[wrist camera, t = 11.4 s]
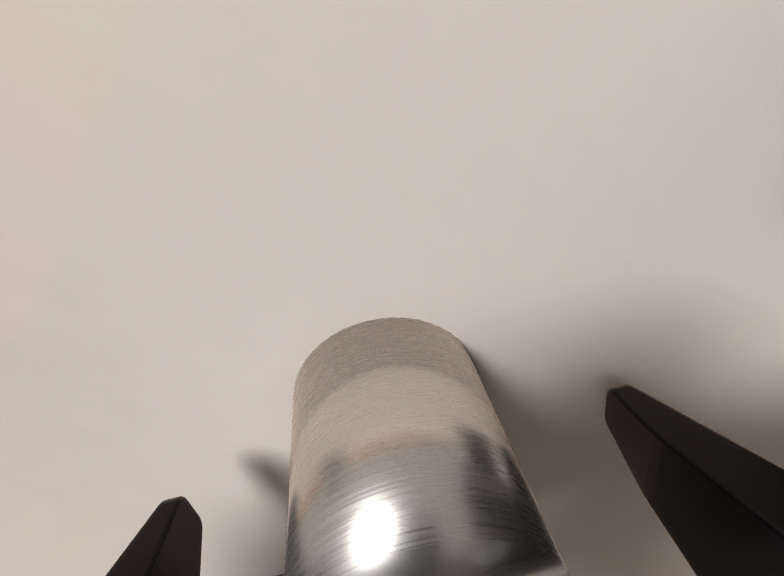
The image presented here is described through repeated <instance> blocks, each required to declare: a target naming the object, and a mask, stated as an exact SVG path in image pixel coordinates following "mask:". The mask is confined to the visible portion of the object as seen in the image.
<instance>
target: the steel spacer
mask: <svg viewBox="0 0 784 576" xmlns="http://www.w3.org/2000/svg"><path fill="white" fill-rule="evenodd" d="M285 576H570V574H569V572H568V570H567V567H566V565H565V563H564V561H563V559H562V556H561V554H560V552H559V550H558V548H557V545H556V543H555V541H554V539H553V537H552V535H551V532H550V530H549V528H548V526H547V524H546V521H545V519H544V517H543V515H542V513H541V511H540V508H539V506H538V504H537V502H536V500H535V497H534V495H533V493H532V491H531V489H530V487H529V484H528V482H527V480H526V478H525V476H524V473H523V471H522V469H521V467H520V465H519V462H518V460H517V458H516V456H515V454H514V452H513V449H512V447H511V445H510V443H509V441H508V438H507V436H506V434H505V432H504V430H503V428H502V425H501V423H500V421H499V419H498V417H497V414H496V412H495V410H494V408H493V406H492V404H491V401H490V399H489V397H488V395H487V393H486V390H485V388H484V386H483V384H482V382H481V379H480V377H479V375H478V373H477V371H476V369H475V366H474V364H473V362H472V360H471V358H470V355H469V354H468V352H467V350H466V349H465V347H464V346H463V345H462V344H461V343H460V341H459V340H458V339H457V338H455V337H454V336H453V335H452V334H450V333H449V332H447V331H446V330H444V329H442V328H441V327H438V326H436V325H433V324H431V323H428V322H424V321H421V320H416V319H409V318H383V319H376V320H370V321H366V322H362V323H359V324H356V325H353V326H351V327H348V328H346V329H344V330H341V331H340V332H338V333H336V334H334V335H333V336H331V337H329V338H328V339H327V340H325V341H324V342H323V343H321V344H320V345H319V346H318V347H317V348H316V349H315V350H314V351H313V352H312V353H311V354H310V355H309V357H308V358H307V359H306V360H305V362H304V364H303V365H302V367H301V369H300V371H299V373H298V376H297V378H296V382H295V387H294V401H293V421H292V442H291V462H290V482H289V502H288V522H287V543H286V563H285Z"/></svg>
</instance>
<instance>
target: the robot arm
mask: <svg viewBox="0 0 784 576" xmlns="http://www.w3.org/2000/svg"><path fill="white" fill-rule="evenodd" d="M605 420H606V423H607V425H608V428H609V429H610V431H611V433H612V435H613V437H614V439H615V441H616V443H617V445H618V447H619V449H620V451H621V453H622V454H623V456H624V458H625V460H626V462H627V464H628V466H629V468H630V470H631V472H632V474H633V476H634V478H635V479H636V481H637V483H638V485H639V487H640V489H641V490H642V492H643V494H644V496H645V497H646V499H647V500H648V502H649V504H650V505H651V507H652V508H653V510H654V511H655V513H656V514H657V516H658V517H659V519H660V520H661V522H662V523H663V525H664V527H665V528H666V530H667V531H668V533H669V534H670V536H671V537H672V539H673V540H674V542H675V543H676V545H677V546H678V548H679V549H680V551H681V552H682V554H683V555H684V557H685V558H686V560H687V561H688V563H689V565H690V566H691V568H692V569H693V571H694V572H695V574H696V575H697V576H784V469H782V468H780V467H778V466H777V465H775V464H773V463H771V462H769V461H767V460H766V459H764V458H762V457H760V456H758V455H756V454H755V453H753V452H751V451H749V450H747V449H746V448H744V447H742V446H740V445H738V444H736V443H735V442H733V441H731V440H729V439H727V438H725V437H724V436H722V435H720V434H718V433H716V432H714V431H713V430H711V429H709V428H707V427H705V426H704V425H702V424H700V423H698V422H696V421H694V420H693V419H691V418H689V417H687V416H685V415H683V414H682V413H680V412H678V411H676V410H674V409H673V408H671V407H669V406H667V405H665V404H663V403H662V402H660V401H658V400H656V399H654V398H652V397H651V396H649V395H647V394H645V393H643V392H642V391H640V390H638V389H636V388H634V387H632V386H630V385H621V386H617V387H613V388H610V389H609V390H608V391H607V395H606V406H605ZM201 546H202V522H201V519H200V517H199V515H198V514H197V513H196V511H195V510H194V509H193V507H192V506H191V504H190V503H189V502H188V500H187V499H186V498H185V497H182V496H180V497H176V498H172V499H168V500H165V501H163V502H162V503H161V504H159V506H158V507H157V508H156V510H155V511H154V512H153V514H152V515H151V516H150V517H149V519H148V520H147V521H146V523H145V524H144V525H143V527H142V528H141V529H140V531H139V532H138V533H137V535H136V536H135V537H134V539H133V540H132V541H131V543H130V544H129V545H128V547H127V548H126V549H125V551H124V552H123V553H122V555H121V556H120V557H119V559H118V560H117V561H116V563H115V564H114V565H113V567H112V568H111V569H110V571H109V572H108V573H107V575H106V576H200V566H201Z"/></svg>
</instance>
